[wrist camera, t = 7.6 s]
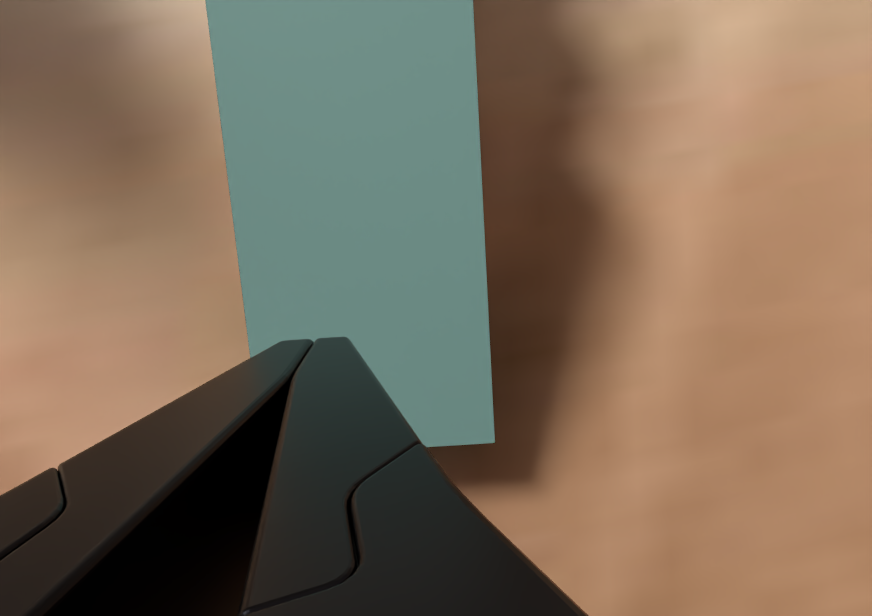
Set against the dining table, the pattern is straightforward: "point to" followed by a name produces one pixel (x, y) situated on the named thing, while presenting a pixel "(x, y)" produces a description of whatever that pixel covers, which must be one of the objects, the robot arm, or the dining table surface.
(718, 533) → the dining table surface
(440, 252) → the domino
